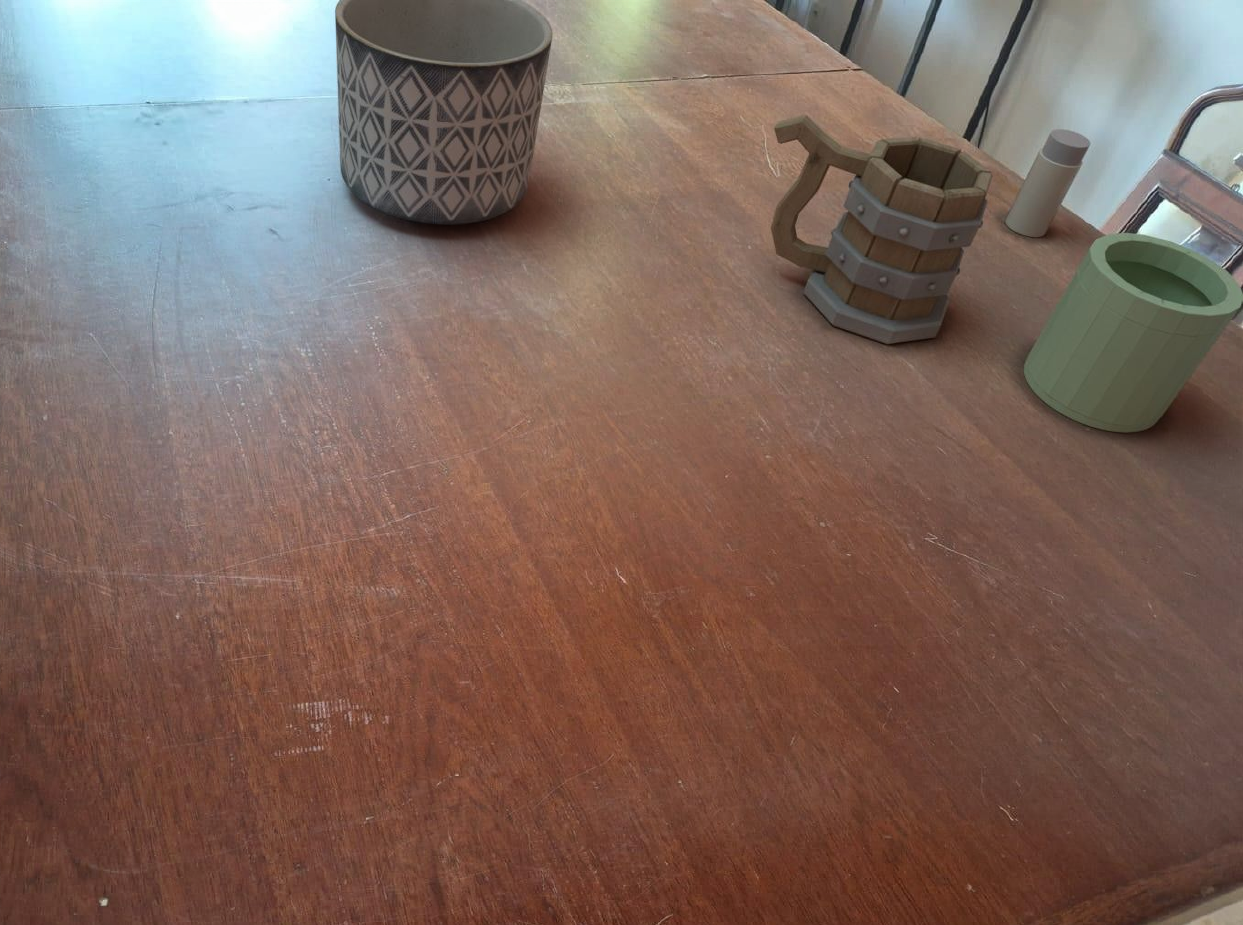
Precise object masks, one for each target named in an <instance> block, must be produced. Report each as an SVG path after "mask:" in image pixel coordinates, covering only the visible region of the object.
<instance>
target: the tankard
mask: <svg viewBox="0 0 1243 925" xmlns="http://www.w3.org/2000/svg"><path fill="white" fill-rule="evenodd" d="M773 129H774V133H775V137H776V140H777V143H778V144H780V145H782V144H786V143H790V142H793V141H796V140H797V141H798V142H799V144H800V145H801V146H802V147H803V148H804V149H805V150H806V152H807V153H808V155H807V158H806V160H805V162H804V164H803V166H802V169H801V171H800V173H799V175H798V178H797V179H796V181H795V182H794V183H793V184H792V186H790V188H789V189H788V190H787V192H786V193H785V194H784V195H783V197H782V198H781V199H780V200H779V201H778V203H777V205H776V207H775V209H774V210H775V211H774V215H773V218H772V222H771V225H770V231H771V236H772V240H773V245H774V249H775V254H776V255H777V256H779V257H781V258H783V259H785V260H786V261H789V262H791V263H793V264H794V265H796V266H798V267H802V268H805V269H809V270H811V273H810V276H809V277H808V279H807V281H806V284H805V286H804V289H803V294H804V295H805V297H807V299H808V300H809V301H810V302H811V303H812V304H813V305H814V306H815V307H816V309H817V310H819V312H820V313H821V315H823V317H825V318H826V319H827V321H828V322H829V323H830V324H831V325H832V326H833V327H836V328H837V329H838V328H839V329H842V330H844V331H846V332H847V331H848V332H851V333H853V334H856V335H859V336H862V337H865V338H868V339H871V340H874V341H877V342H880V343H883V344H885V345H890V344H897V343H904V342H912V341H918V340H919V341H920V340H926V339H933V338H936V337H937V335H938V332H939V331H940V329H941V327H942V324H943V321H944V318H945V315H946V311H947V308H948V305H949V302H950V299H951V298H950V297H949V295H948V294H949V291H950V289H951V287H952V285H953V284H954V281H955V279H956V277H957V276H959V275H960V273H961V268H960V266H961V262H962V259H963V257H964V252H965V250H964V249H963V248H967V247H970V246H971V245H972V243H973V242H974V239H975V237H976V235H977V233H978V230H979V229H980V228H982V227H983V226H984V221H983V217H984V215H985V211H986V208H987V205H988V200H987V199H986V198H987V195H988V193H989V189H990V186H991V182H992V179H993V174H992V172H991V171H990V170H989V169H988V168H987V167H986V166H984V165H983V164H981V163H980V162H979V161H978V160H976V159H975V158H974V157H972V156H971V155H970V154H969V153H968V152H966V151H965V150H964V151H962V149H961V148H957V147H954V146H951V145H947V144H944V143H941V142H938V141H934V140H930V139H928V138H924V137H919V138H918V137H917V136H905V137H891V138H890V137H889V138H881V139H878V140H877V141H876V142H875V145H874V146H873V148H872V150H871V152H870V153H866V152H864V151H861V150H856V149H854V148H849V147H846V146H842V145H841V144H840V143H838V142H837V141H836V140H834V138H832V137H831V136H830V135H828V134H827V133H826V132H825V131H823V129H821V128H820V127H819V126H818V124H816V123H815V122H814V121H813V120H812V119H811V118H810V117H809V116H808V115H807V114H804V115H799V116H796V117H791V118H788V119H784V120H780V121H777V123H776V124H775V125H774V127H773ZM830 167H833V168H836V169H839V170H841V171H844V172H848V173H850V174H853V175H855V176H854V178H853V180H851V181H850V182H849V183H848V188H849V189H848V192H847V195H846V196H845V200H844V202H843V205H842V206H843V208H844V209H845V210H846V211H845V212H843V213H842V216H841V217H840V220H839V221H838V223H837V225H836V227H835V228H832V230H831V231H830V235H831V238H830V241H829V242H828V243H829V244H828V246H821V245H816V244H810V243H807V242H805V241H803V240H802V239H800V238H799V237H798V235H797V234H798V233H797V229H796V226H797V225H796V224H797V221H798V217H799V215H800V213H801V212H802V211H803V210H804V208H805V207H806V206H807V205H808V204H809V203H810V201H811V200H812V199H813V198H814V197H815V195H816V194H817V193H818V192H819V189H820V188H821V186H822V184H823V181H824V180H825V177H826V175H827V173H828V171H829V168H830Z"/></svg>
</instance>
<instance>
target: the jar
mask: <svg viewBox="0 0 1243 925" xmlns="http://www.w3.org/2000/svg"><path fill="white" fill-rule="evenodd" d="M1242 304H1243V291H1242V287H1241V285H1240V284H1239V283H1238V282H1237V280H1236V279H1235V278H1234V277H1233V276H1232V274H1230V272H1229V271H1227V270H1226V269H1225V268H1223V267H1222V266H1220V265H1219V264H1218V263H1217V262H1215V261H1214V260H1212V259H1210V258H1209V257H1207V256H1205V255H1203V254H1201V253H1199V252H1197V251H1195V250H1194V249H1191V248H1189V247H1187V246H1184V245H1181V244H1179V243H1176V242H1173V241H1172V240H1167V239H1162V238H1159V237H1155V236H1151V235H1147V234H1141V233H1140V234H1139V233H1132V232H1131V233H1130V232H1119V233H1109V234H1106V235H1103V236H1101V237H1098V238H1096V239H1095V240H1094V241H1093V243H1092V244H1091V245H1090V246H1089V248H1088V250H1087V252H1086V254H1085V255H1084V257H1083V259H1082V260H1081V263H1080V264H1079V266H1078V268H1077V269H1076V271H1075V273H1074V275H1073V276H1072V278H1071V280H1070V281H1069V283H1068V285H1067V287H1066V289H1065V291H1064V292H1063V294H1062V296H1061V298H1060V299H1059V300H1058V303H1057V304H1056V306H1055V308H1054V309H1053V312H1051V315H1050V317H1049V319H1048V320H1047V321H1046V324H1045V326H1044V327H1043V328H1042V331H1041V333H1040V335H1039V336H1038V338H1037V340H1036V342H1035V343H1034V345H1033V347H1032V348H1031V350H1030V351H1029V353H1028V355H1027V357H1026V360H1025V362H1024V364H1023V374H1024V377H1025V381H1026V382H1027V384H1028V386H1029V388H1030V389H1031V390H1032V391H1033V393H1034V394H1035V395H1036V396H1037V397H1038V398H1039V399H1040V400H1041V401H1042V402H1044V403H1045V404H1046V405H1047V406H1049V407H1050V408H1052V409H1053V410H1055V411H1056V412H1058V413H1059V414H1060V415H1063V416H1064V417H1067V418H1069V419H1071V420H1072V421H1075V422H1077V423H1080V424H1083V425H1085V426H1088V427H1090V428H1094V429H1098V430H1102V431H1106V432H1107V431H1108V432H1112V433H1123V434H1124V433H1138V432H1141V431H1142V432H1143V431H1146V430H1148V429H1149V428H1152V427H1153V426H1154V425H1156V423H1157V422H1158V421H1159V420H1160V418H1163V416H1164V414H1165V413H1166V411H1167V410H1168V409H1169V407H1170V406H1171V404H1172V403H1173V402H1174V400H1175V399H1176V398H1177V396H1178V395H1179V393H1180V392H1181V390H1182V389H1183V388H1184V387H1185V385H1186V383H1187V382H1188V381H1189V379H1190V378H1191V377H1192V376H1193V374H1194V373H1195V371H1196V370H1197V368H1198V367H1199V366H1200V364H1201V363H1202V361H1203V360H1204V358H1206V356H1207V355H1208V354H1209V352H1210V351H1211V349H1212V348H1213V347H1214V345H1215V343H1216V342H1217V341H1218V340H1219V338H1220V336H1221V335H1222V333H1223V332H1224V331H1225V329H1226V328H1227V327H1228V325H1229V324H1230V323H1231V321H1232V320H1233V319H1234V317H1235V316H1236V314H1237V313H1238V311H1239V310H1240V309H1241V307H1242Z"/></svg>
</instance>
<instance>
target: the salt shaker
mask: <svg viewBox="0 0 1243 925" xmlns="http://www.w3.org/2000/svg"><path fill="white" fill-rule="evenodd" d="M1090 146H1091V140H1089V139H1088V138H1087V137H1086V136H1084V135H1083V134H1081V133H1079V132H1077V131H1076V132H1075V131H1073V130H1069V129H1062V128H1056V129H1053V130H1051V131H1050V133H1049V135H1048V137H1047V139H1046V141H1045V143H1044V145H1043V147H1041V148H1040V149H1039V151H1038V153H1037V154H1036V157H1035V159H1034V161H1033V162H1032V165H1031V166H1030V169H1029V171H1028V173H1027V175H1026V177H1025V178H1024V181H1023V183H1022V185H1021V187H1020V189H1019V191H1018V193H1017V195H1016V197H1015V200H1014V201H1013V203H1012V205H1011V207H1010V209H1009V211H1008V213H1007V215H1006V217H1005V219H1004V222H1005V225H1006V227H1008V229H1010V230H1011V231H1013V232H1015V233H1017V234H1019V235H1021V236H1025V237H1029V238H1030V237H1031V238H1040V237H1041V238H1042V237H1043V236H1045V235H1046V234H1047V231H1048V230H1049V228H1050V226H1051V224H1052V223H1053V220H1054V218H1055V217H1056V215H1057V213H1058V211H1059V209H1060V207H1061V205H1062V203H1063V202H1064V199H1066V196H1067V195H1068V192H1069V190H1070V189H1071V186H1072V184H1073V183H1074V181H1075V179H1076V177H1077V176H1078V173H1079V171H1080V170H1081V168H1082V166H1083V163H1084V162H1083V160H1084V158H1085V156H1086V154H1087V152H1088V150H1089V149H1090Z"/></svg>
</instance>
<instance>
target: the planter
mask: <svg viewBox="0 0 1243 925" xmlns="http://www.w3.org/2000/svg"><path fill="white" fill-rule="evenodd" d="M334 18H335V22H334V23H335V48H336V49H335V50H336V52H335V53H336V79H337V107H338V109H337V110H338V114H337V115H338V135H339V136H338V138H339V139H338V140H339V141H338V142H339V167H340V174H341V177H342V179H343V181H344V183H345V185H346V187H347V188H348V189H349V190H350V192H352V193H353V195H354V196H356V197H357V198H358V199H359V200H361V202H364V203H365V204H367V206H370V207H372V208H374V209H376V210H377V211H380V212H383V213H385V214H387V215H390V216H392V217H395V218H400V219H403V220H407V221H413V222H417V223H421V224H422V223H423V224H432V225H467V224H473V223H479V222H484V221H487V220H491V219H494V218H496V217H499V216H501V215H504V214H506V213H507V212H509V211H511V210H512V209H514V208H515V207H516V206H517V205H518V204H519V203H520V202H521V201H522V200H523V199H524V197H525V195H526V193H527V190H528V188H529V183H530V176H531V169H532V166H533V165H532V164H533V159H534V152H535V146H536V141H537V134H538V127H539V121H540V116H541V108H542V102H543V97H544V89H545V83H546V79H547V73H548V72H547V71H548V66H549V60H550V53H551V48H552V41H553V28H552V25H551V24H550V22H549V20H548V19H547V18H546V17H545V16H544V14H542V13H541V12H540V11H539V10H538V9H536V8H535V7H533V6H532V5H530V4H529V3H527V2H525V1H524V0H338V2H337V3H336V5H335V9H334Z"/></svg>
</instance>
